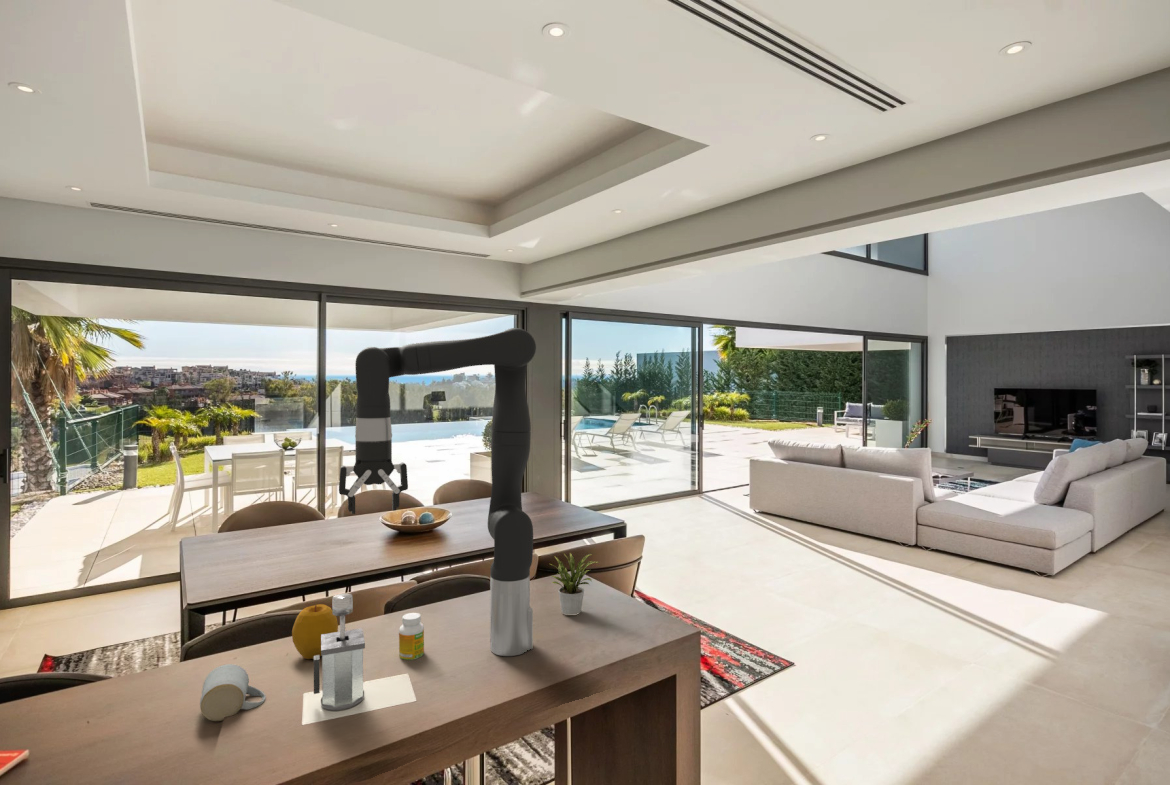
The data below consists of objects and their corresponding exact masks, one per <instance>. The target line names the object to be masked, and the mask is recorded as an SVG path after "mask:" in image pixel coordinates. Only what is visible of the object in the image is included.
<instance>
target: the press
mask: <svg viewBox="0 0 1170 785" xmlns="http://www.w3.org/2000/svg"><path fill="white" fill-rule="evenodd" d="M364 635H365V634H364V630H363V628H362V627H361V628H355V629H348V630H345V641H340V631H338V632H334V633H328V634H321V656H320V657H321V664H322V665H321V669H322V670H321V672H322V675H321V676H322V678H321V679H322V680H321V683H322V686H321V688H322V689H321V688H320V685H321V684H320V657H319V655H316V656H314V658H313V691H314V694H317V693H320V690H322V698H321V707H322V708H323V709H324V710H327V711H344V710H348V709H351V708H353V707H355V706H357V705H359V704H360V703H361V702H362V701H363V700H364V690H363V682H364V649H366V641H365V636H364Z"/></svg>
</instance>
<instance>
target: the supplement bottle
mask: <svg viewBox="0 0 1170 785" xmlns="http://www.w3.org/2000/svg"><path fill="white" fill-rule="evenodd" d="M421 617H422V615H421V614H420V613H418V612H409V613H405V614H404V615H403V616H402V620H401V623H402V625H400V627H399V630H398V631H399V632H398V645H399V646H398V649H399V651H398V657H399V658H400V659H401V660H405V661H409V660H416V659H419V658H421V657H422V656H423V655H424V654H425V627H424V624H423V623H422V622H421V620H422V618H421Z"/></svg>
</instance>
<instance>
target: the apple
mask: <svg viewBox="0 0 1170 785" xmlns="http://www.w3.org/2000/svg"><path fill="white" fill-rule="evenodd" d="M334 632H339V623H338V618H337V616H335V615H333V614H332V607H330V606H328V605H326V604H323V603H321V604H320V603H319V604H315V605H311V606H310V605H309V606H307V607H304V608H303V609H301V611H299V614H298V615H297V616H296V618H295V621H294V623H293V626H292V630H291V636H292V643H293V644H294V647H295V649H296V650H297V652H298V653H299V654H300V656H301V657H302V658H303V659H305V660H311V659H312V660H314V656H316V655H319V658H320V657H322V656H321V634H328V633H334Z"/></svg>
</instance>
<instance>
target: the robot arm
mask: <svg viewBox="0 0 1170 785" xmlns="http://www.w3.org/2000/svg"><path fill="white" fill-rule="evenodd" d="M536 352H537V344H536V340H535V339H534V337H533V335H532V334H531V333H530V332H529V331H527V330H526V329H523V328H519V327H513V328H512V327H511V328H508V329H505V330H503V331H502V332H498V333H494V334H490V335H484V336H481V337H480V336H479V337H474V338H467V339H452V340H450V339H449V340H438V341H437V340H436V341H426V342H424V341H423V342H416V343H410V344H409V343H408V344H405V345H401V346H392V347H380V348H379V347H377V346H369V347H365V348H364V349H362V350H361V351H360V352H359V353H358V354H357V356H356V358H355V382H356V383H355V384H356V391H357V392H356V393H357V396H356V397H357V398H356V422H355V430H354V431H355V436H354V438H355V462H354V465H353V466H346V465H341V466H340V468H339V481H338V482H339V484H338V493H339V494H340V495H343V496H347V510H348V512H349V513H350V512H351V514H352V515H355V514H356V496H355V495H356V493H357V492H358V491H359V489H361V487H362V486H363V485H366V486H371V485H382V484H384V483H386V485H387V486H388V487H389V488H390V489H391V491H392V492H391V509H392V511H397V509H398V508H399V507H400V494H401V492H404V491H407V490H408V488H409V484H408V482H409V481H408V467H407V463H405V462H400V463H397V464H393V460H392V456H393V455H392V454H393V453H392V448H393V446H392V442H393V439H392V438H393V432H392V430H393V428H392V421H391V398H390V392H389V390H390V388H389V387H390V378H395V377H399V376H404V375H405V376H407V375H409V376H410V375H411V376H412V375H413V376H415V375H416V376H417V375H426V374H434V373H441V372H447V371H451V370H457V369H462V368H468V367H469V368H470V367H475V366H492V365H493V368H494V369H493V370H494V380H495V381H494V388H495V390H494V399H493V406H492V420H491V421H492V422H491V442H490V444H491V447H490V448H491V449H490V451H491V452H490V453H491V455H490V456H491V458H490V459H491V460H490V461H491V462H490V463H491V467H490V469H491V493H490V494H491V495H490V499H489V500H490V501H489V508H488V515H487V516H488V517H487V530H488V533H489V535H490V536H491V539H493V541H494V542H493V553H494V554H493V562H492V563H491V564H490V576H489V577H490V579H489V580H490V584H489V585H490V586H489V588H490V591H489V592H490V596H489V597H490V598H489V600H490V603H489V604H490V605H489V606H490V611H489V612H490V614H489V616H490V619H489V620H490V633H489V634H490V639H489V642H490V651H491V652H492V653H493V654H494V655H497V656H501V657H502V656H503V657H513V656H519V655H522V654H525V653H526V652H527V650H528V651H531V650H533V646H534V645H533V644H534V643H533V641H534V638H533V636H534V630H533V629H534V628H533V626H534V624H533V620H534V619H533V617H534V616H533V615H534V614H533V613H534V610H533V608H532V607H531V598H530V597H531V592H530V591H531V590H530V588H531V581H530V580H531V578H530V576H531V566H532V564H533V556H534V554H533V552H534V527H533V526H534V525H533V522H532V519H531V517H530V516H529V515H528V514H527V513H526V512H524V511H523V506H522V503H523V502H522V482H523V477H524V474H525V470H526V469H527V466H528V461H529V457H530V452H531V434H532V432H531V417H530V416H531V415H530V409H529V404H528V403H529V402H528V398H527V393H526V380H527V370H528V369H527V367H528V364H529V363H530V362H531V361H532V360H533V359H534V356H535V354H536ZM394 470H396V472H397V473H398V474H399V476H400V484H398V485H396V483H395V482H394V481H393V480H392V479H391V477H390V476H391V474H392V473H393V472H394ZM352 472H353V473H354V474H355V475H356V477H357V478H356V480H355V481H354V482H353V484H352V485H351V487H350V488H347V487H346V485H347V484H346V482H347V478H348V477H349V476H351V473H352ZM530 649H531V650H530ZM524 652H525V653H524Z"/></svg>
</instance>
